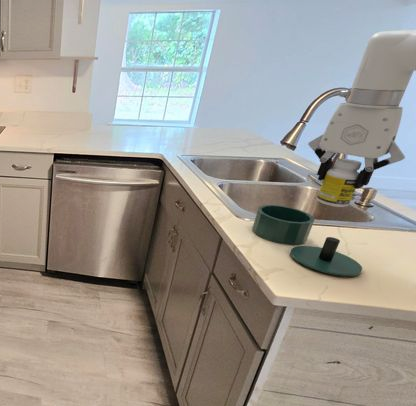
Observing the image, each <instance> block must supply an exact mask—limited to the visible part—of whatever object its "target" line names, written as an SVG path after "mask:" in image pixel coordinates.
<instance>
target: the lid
mask: <svg viewBox="0 0 416 406" xmlns="http://www.w3.org/2000/svg"><path fill="white" fill-rule="evenodd" d="M340 243H341V240H340V239H338V238H336V237H334V236H333V237H332V236H328V237H325V240H324V243H323V245H322V247H320V246H314V245H296V246H294V247H291V249H290V256H291V257H292V258H293V260H295V261H296V262H298V263H300V264H301V265H303V266H305V267H307V268H310V269H312V270H315V271H318V272H321V273H324V274H328V275H333V276H339V277H354V276H355V277H356V276H359V275H360V274H361V273H362V271H363V267H362V265H361V264H360V263H359V262H358V261H357V260H355V259H353V258H352V257H350V256H348V255H346V254H343V253H341V252H338V251H337V249H338V248H339V245H340Z"/></svg>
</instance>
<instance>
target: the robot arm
mask: <svg viewBox="0 0 416 406" xmlns="http://www.w3.org/2000/svg"><path fill="white" fill-rule="evenodd" d="M414 72H416V29H399V30H397V29H396V30H383V31H377V32H376V33H374V34H373V35H372V36H371V37H370V38H369V40H368V41H367V44H366V47H365V50H364V53H363V54H362V58H361V61H360V63H359V66H358V69H357V70H356V73H355V74H356V75H355V77H354V80H353V81H352V85H351V87H349V88H348V89H346V90H344V89H342V90H340V92H339V94H338V95H339V97H340V98H344V99H345V102H342V103H339V104H338V106H337V107H336V109H335V111H334V113H333V114H332V116H331V118H330V120H329V121H328V124H327V126H326V127H325V130H324V132H323V134H321V135H319V136H317V137H316V138H314V139H312V140H310V141H309V142H308V144H307V145H308V146H309V147H310V148H311V150H312V151H313V152H314V154H315V155H316V157H318V159H319V162H320V165H319V167H318V170H317V173H316V175H317V176H318V177H317V181H320V182H321V181H324V178H325V175H326V173H327V171H328V170H329V169H331V168H333V165H334V161H333V158H334V157H336V156H337V154H341V155H347V156H353V157H358V158H364V167H363V169H361V170H360V171H359V175H358V178H357V180H356V183H355V185H354V188H356V189H355V190H359V189H361V188H363V187H364V186H368V185H369V183H370V180H371V179H372V176H373V173H374V171H376V170H378V169H381V168H383V167H386V166H388V165H392V164H395V163H398V162H401V161H403V160H405V159H406V155H404V153H403V151H402V150H401V148H400V147H399V146H398V145H397V143H396V138H397V136H398V132H399V128H400V124H401V120H402V116H403V109H404V108H403V106H400V105H401V102H402V100H403V97H404V94H405V92H406V90H407V88H408V85H409V83H410V80H411V77H412V76H413V74H414ZM388 154H389V155H390V157H387V158H384V159H382V160H379V158H381V157H384V156H386V155H388Z"/></svg>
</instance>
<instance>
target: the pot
mask: <svg viewBox="0 0 416 406" xmlns="http://www.w3.org/2000/svg"><path fill="white" fill-rule="evenodd" d="M257 208H258V209H257V212H256V214H255V218H254V221H253V224H252V228H251V230H252V232H253V233H254V235H256V236H258V237H260V238H262V239H263V240H266V241H269V242H272V243H277V244H281V245H288V246H301V245H303V244H305V243H307V241H308V238H309V236H310V233H311V231H312V228H313V225H314V223H315V217H314V216H313V215H312V214H310V213H308V212H306V211H304V210H301V209H298V208H294V207H290V206H286V205H280V204H263V205H260V206H259V207H257Z"/></svg>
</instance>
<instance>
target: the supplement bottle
mask: <svg viewBox="0 0 416 406" xmlns="http://www.w3.org/2000/svg"><path fill="white" fill-rule="evenodd" d="M333 165H334V167H332V168H331V169H329V170H328V171H327V173H326V175H325V178H324V180H322V184H321V185H320V188H319V191H318V194H317V197H316V201H318V203H321V204H323V205H327V206H331V207H336V208H345V207H348V206H349V205H350V203H351V201H352V199H353V197H354V194H355V192H356V190H357V189H356V188H354V185H355V183H356V180H357V178H358V175H359V173H360V171H359V170H360V169H361V167H362V161H359V160H355V159H351V158H337V159H336V160H335V162H334V164H333Z"/></svg>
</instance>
